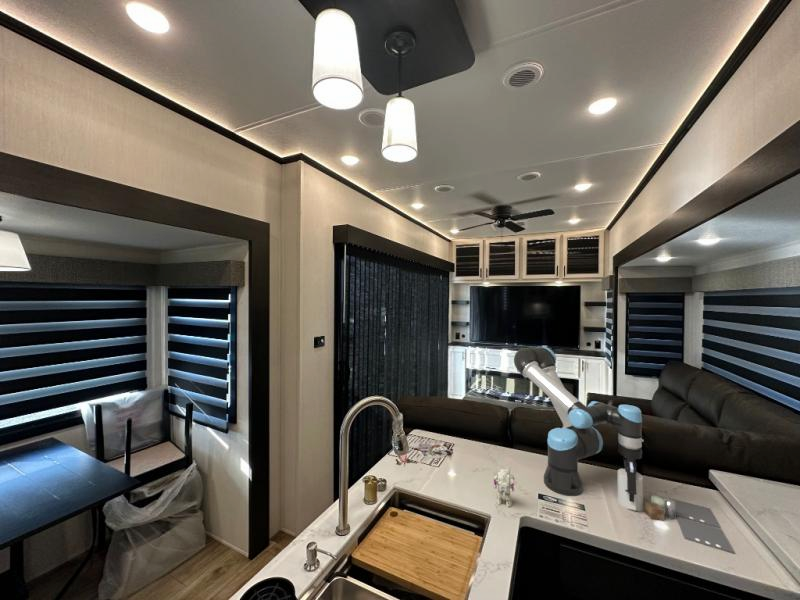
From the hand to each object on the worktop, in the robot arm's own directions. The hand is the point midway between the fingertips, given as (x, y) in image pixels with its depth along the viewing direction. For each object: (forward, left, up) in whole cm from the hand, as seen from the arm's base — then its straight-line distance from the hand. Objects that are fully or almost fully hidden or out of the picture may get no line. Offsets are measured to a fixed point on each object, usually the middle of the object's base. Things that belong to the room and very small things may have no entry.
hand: (630, 502), depth 124 cm
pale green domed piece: (+9, +4, -1) cm, 10 cm away
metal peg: (+12, -1, -1) cm, 12 cm away
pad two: (+20, +7, -1) cm, 21 cm away
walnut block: (+7, -4, -1) cm, 8 cm away
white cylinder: (0, 0, -1) cm, 1 cm away
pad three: (+20, -6, -1) cm, 21 cm away
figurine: (-43, -26, -1) cm, 50 cm away
